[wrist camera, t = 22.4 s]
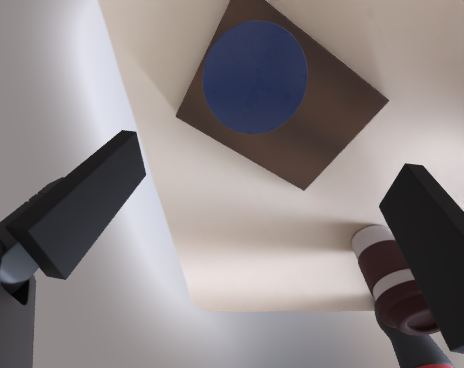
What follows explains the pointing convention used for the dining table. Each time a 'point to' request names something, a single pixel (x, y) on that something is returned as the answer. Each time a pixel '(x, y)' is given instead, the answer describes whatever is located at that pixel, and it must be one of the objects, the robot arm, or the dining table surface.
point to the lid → (255, 77)
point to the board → (307, 115)
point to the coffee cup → (392, 282)
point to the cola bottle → (415, 349)
